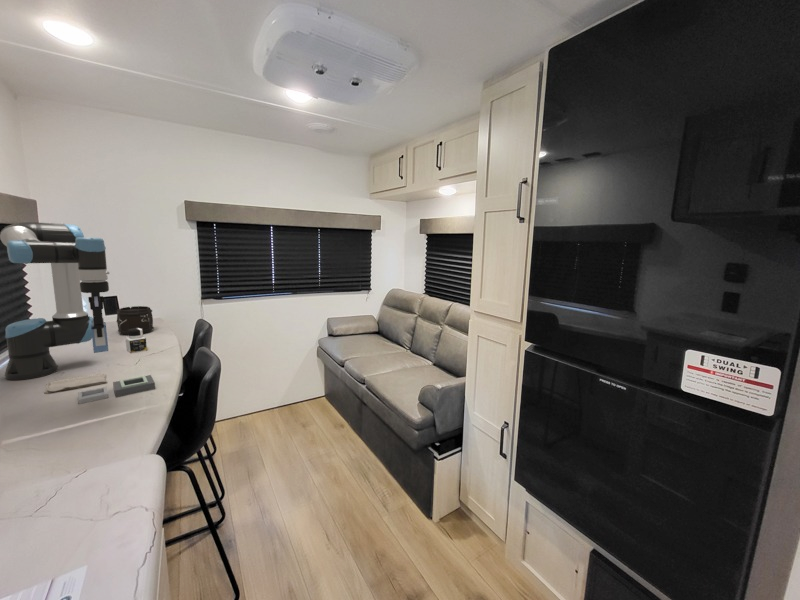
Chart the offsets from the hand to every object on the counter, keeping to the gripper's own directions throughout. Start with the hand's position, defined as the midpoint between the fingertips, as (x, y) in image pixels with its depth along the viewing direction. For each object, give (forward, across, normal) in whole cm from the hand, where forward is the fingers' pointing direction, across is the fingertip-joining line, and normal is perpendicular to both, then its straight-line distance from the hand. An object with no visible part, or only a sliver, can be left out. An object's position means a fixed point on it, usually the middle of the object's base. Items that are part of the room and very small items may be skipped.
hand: (100, 343), depth 122 cm
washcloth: (+22, +18, +8) cm, 30 cm away
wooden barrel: (+21, +103, -17) cm, 106 cm away
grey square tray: (+21, 0, +3) cm, 21 cm away
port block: (+21, +1, -9) cm, 23 cm away
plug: (+3, 0, 0) cm, 3 cm away
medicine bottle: (+21, +60, -14) cm, 65 cm away
